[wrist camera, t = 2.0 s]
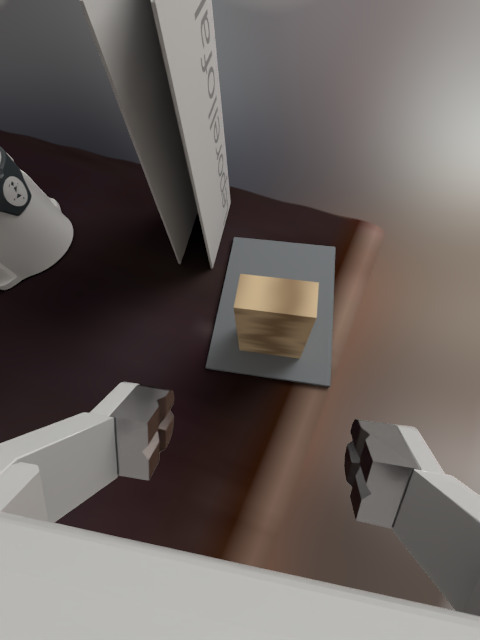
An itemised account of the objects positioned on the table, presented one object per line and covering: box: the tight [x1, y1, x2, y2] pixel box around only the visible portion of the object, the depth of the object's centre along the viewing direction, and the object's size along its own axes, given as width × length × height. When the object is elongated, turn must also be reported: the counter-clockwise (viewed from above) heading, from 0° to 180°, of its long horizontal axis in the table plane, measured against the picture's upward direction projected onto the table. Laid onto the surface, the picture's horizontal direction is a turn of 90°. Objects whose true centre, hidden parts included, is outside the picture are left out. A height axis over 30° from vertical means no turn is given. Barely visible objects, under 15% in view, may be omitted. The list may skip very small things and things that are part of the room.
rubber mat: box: [206, 237, 335, 387], centre depth 43 cm, size 16×22×1 cm
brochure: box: [79, 0, 231, 269], centre depth 37 cm, size 14×6×30 cm, turn 169°
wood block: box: [234, 274, 319, 359], centre depth 35 cm, size 8×4×12 cm, turn 81°
